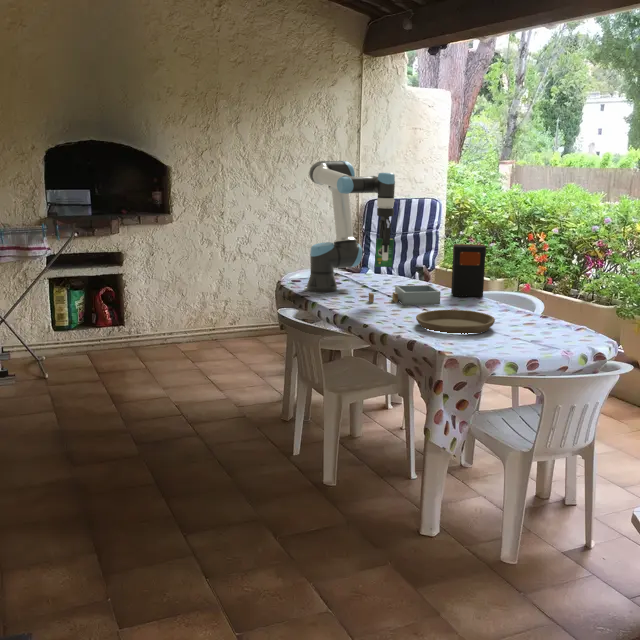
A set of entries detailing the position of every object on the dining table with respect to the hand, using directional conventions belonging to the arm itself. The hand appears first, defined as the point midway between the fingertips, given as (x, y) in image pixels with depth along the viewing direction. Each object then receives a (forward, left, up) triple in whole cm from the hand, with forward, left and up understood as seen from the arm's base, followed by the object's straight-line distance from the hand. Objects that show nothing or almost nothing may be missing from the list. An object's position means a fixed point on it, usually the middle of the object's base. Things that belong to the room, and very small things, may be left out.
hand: (384, 258), depth 337 cm
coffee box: (0, 0, -4) cm, 4 cm away
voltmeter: (-9, +44, -20) cm, 49 cm away
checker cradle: (0, 0, -20) cm, 20 cm away
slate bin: (+1, +16, -20) cm, 26 cm away
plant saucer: (+53, +17, -21) cm, 59 cm away
